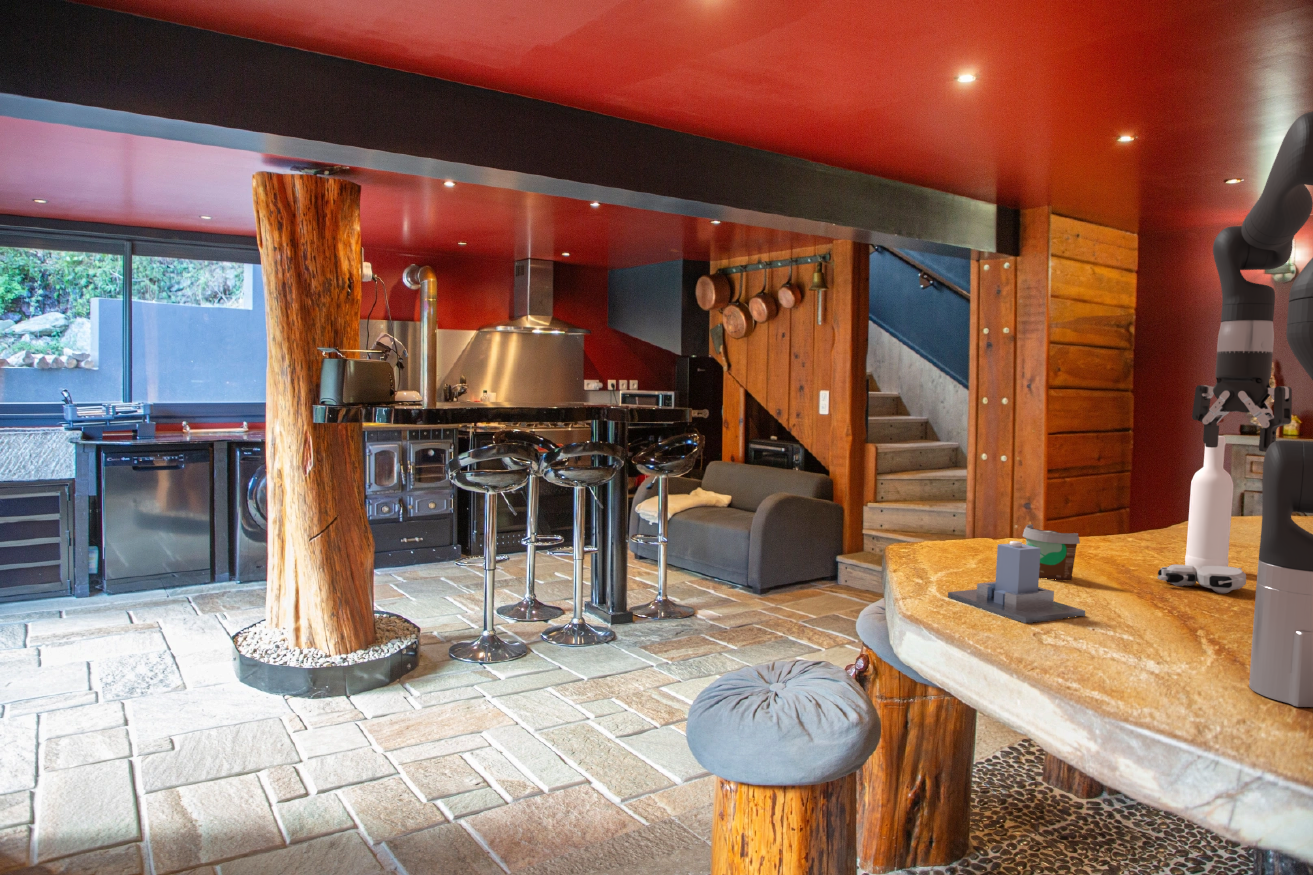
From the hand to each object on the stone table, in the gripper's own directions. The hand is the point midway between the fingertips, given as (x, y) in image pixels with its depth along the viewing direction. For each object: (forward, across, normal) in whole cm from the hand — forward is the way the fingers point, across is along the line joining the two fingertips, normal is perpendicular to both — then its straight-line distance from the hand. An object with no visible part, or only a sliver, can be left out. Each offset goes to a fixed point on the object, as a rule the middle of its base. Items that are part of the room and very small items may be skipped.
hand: (1237, 449), depth 139 cm
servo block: (+29, +22, +23) cm, 43 cm away
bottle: (+30, +31, -44) cm, 62 cm away
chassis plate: (+30, +23, +23) cm, 44 cm away
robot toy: (+30, +22, -27) cm, 46 cm away
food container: (+30, +39, -2) cm, 50 cm away
